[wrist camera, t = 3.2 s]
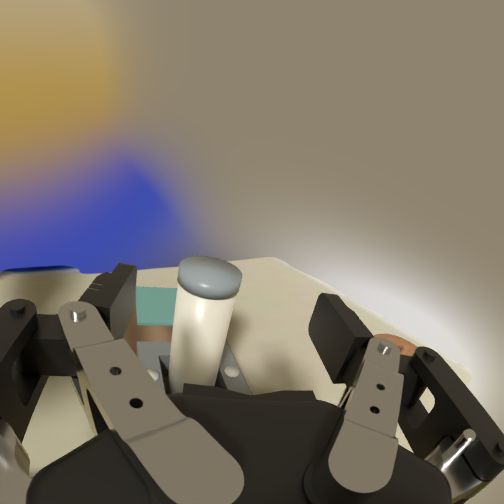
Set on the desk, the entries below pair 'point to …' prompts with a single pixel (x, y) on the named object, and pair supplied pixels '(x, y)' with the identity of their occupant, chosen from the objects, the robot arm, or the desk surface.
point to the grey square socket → (158, 359)
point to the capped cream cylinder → (201, 320)
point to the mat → (155, 306)
